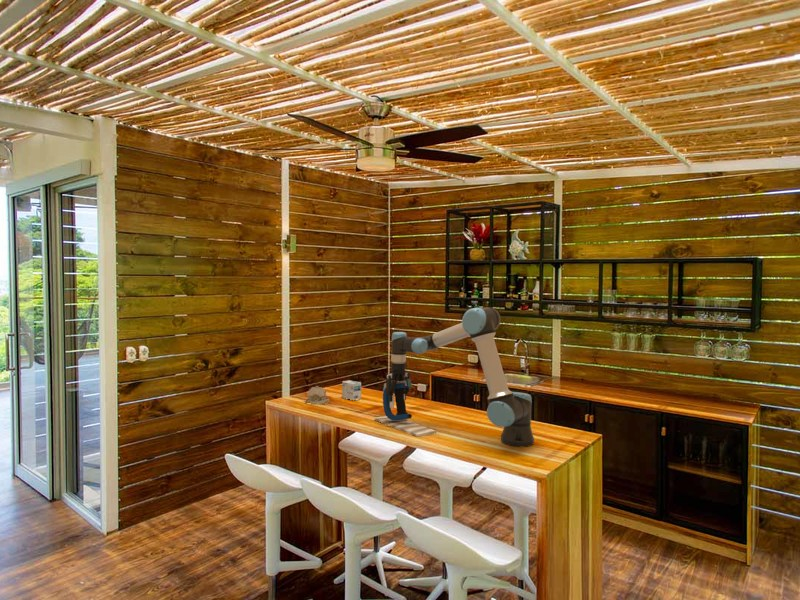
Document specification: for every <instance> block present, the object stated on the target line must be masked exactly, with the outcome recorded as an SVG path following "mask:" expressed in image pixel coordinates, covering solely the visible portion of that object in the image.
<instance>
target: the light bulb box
mask: <svg viewBox="0 0 800 600" xmlns="http://www.w3.org/2000/svg"><path fill="white" fill-rule="evenodd" d="M341 386H342V387H341V398H342V397H343V398H347V399H351V400H356V399H360V398H361V399H362V382H361V381H354V380H343V381H342V383H341ZM343 398H342V399H343ZM347 399H346V400H347ZM351 400H350V401H351ZM356 401H357V400H356Z"/></svg>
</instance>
